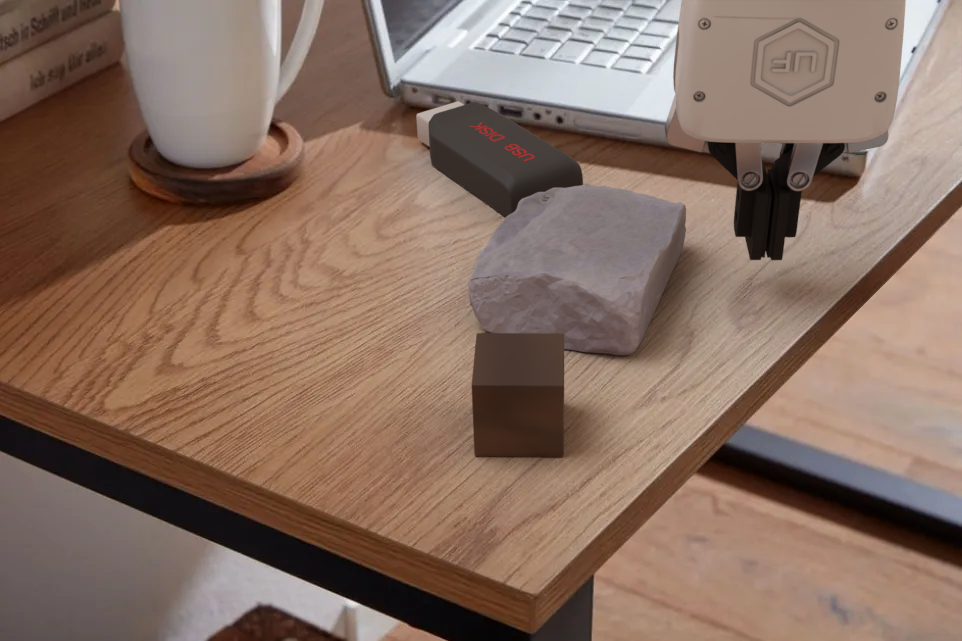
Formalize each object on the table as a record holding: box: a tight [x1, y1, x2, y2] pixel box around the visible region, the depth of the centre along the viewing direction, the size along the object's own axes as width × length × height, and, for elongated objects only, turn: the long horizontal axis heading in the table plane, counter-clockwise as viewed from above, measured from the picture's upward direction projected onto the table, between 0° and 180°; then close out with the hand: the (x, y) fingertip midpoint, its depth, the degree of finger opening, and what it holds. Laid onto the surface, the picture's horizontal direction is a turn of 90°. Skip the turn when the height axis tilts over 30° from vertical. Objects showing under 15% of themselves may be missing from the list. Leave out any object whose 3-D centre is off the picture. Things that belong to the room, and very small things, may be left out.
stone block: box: [468, 183, 687, 356], centre depth 70 cm, size 12×5×10 cm
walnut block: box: [471, 332, 565, 458], centre depth 60 cm, size 4×4×4 cm
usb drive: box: [415, 100, 584, 218], centre depth 82 cm, size 5×12×3 cm, turn 34°
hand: (762, 246), depth 69 cm, fingers closed
